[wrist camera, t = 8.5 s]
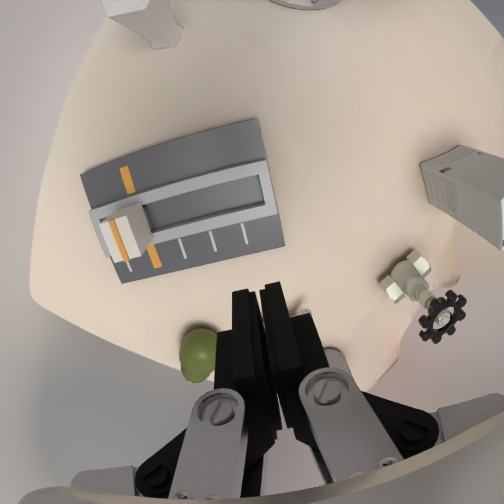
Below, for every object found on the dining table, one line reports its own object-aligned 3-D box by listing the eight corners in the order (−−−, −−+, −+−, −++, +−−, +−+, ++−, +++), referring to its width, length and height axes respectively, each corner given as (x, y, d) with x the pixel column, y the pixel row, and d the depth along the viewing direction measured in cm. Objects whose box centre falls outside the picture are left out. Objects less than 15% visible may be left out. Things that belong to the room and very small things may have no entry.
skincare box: (459, 144, 30) (544, 167, 16) (468, 184, 32) (545, 220, 18) (415, 164, 31) (502, 197, 17) (426, 207, 33) (504, 255, 20)
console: (85, 172, 29) (75, 176, 27) (256, 118, 28) (258, 117, 26) (125, 277, 35) (118, 288, 32) (283, 240, 34) (287, 250, 32)
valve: (369, 271, 37) (412, 327, 26) (405, 237, 35) (458, 282, 24) (392, 298, 39) (432, 352, 28) (424, 267, 37) (473, 314, 26)
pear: (226, 357, 34) (210, 394, 39) (228, 325, 38) (212, 365, 43) (180, 348, 33) (172, 386, 38) (187, 316, 37) (177, 358, 42)
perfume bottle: (159, 61, 25) (102, 18, 11) (138, 36, 23) (74, -14, 10) (194, 36, 24) (164, -28, 10) (172, 11, 22) (132, -57, 9)
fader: (119, 206, 29) (97, 225, 24) (144, 198, 29) (124, 216, 24) (132, 240, 31) (113, 265, 25) (155, 234, 31) (140, 258, 25)
